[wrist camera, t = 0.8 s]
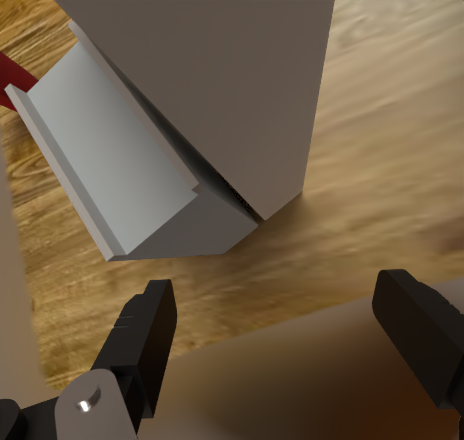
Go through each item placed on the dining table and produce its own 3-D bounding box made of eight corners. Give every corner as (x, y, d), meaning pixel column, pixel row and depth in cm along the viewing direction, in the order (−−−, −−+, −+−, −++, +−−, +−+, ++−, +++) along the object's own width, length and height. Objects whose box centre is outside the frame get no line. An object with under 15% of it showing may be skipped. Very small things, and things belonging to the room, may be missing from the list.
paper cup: (60, 79, 44) (-43, 3, 30) (74, 114, 42) (-29, 51, 29) (26, 103, 45) (-87, 40, 32) (38, 138, 44) (-77, 88, 30)
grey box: (259, 225, 33) (199, 183, 12) (223, 254, 34) (106, 261, 12) (202, 154, 36) (73, 18, 15) (171, 181, 37) (4, 89, 15)
